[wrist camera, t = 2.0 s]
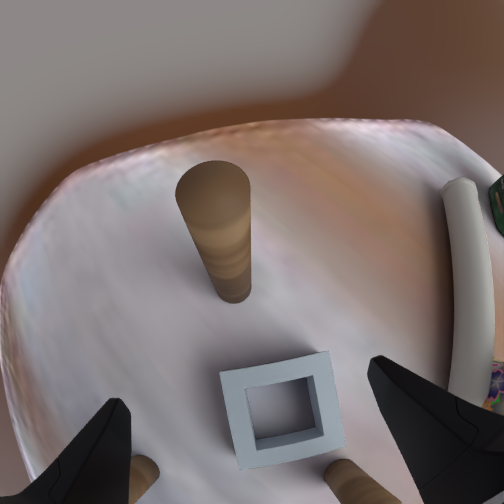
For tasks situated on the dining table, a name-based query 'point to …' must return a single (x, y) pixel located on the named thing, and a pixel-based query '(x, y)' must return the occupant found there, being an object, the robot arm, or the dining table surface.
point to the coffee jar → (498, 202)
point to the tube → (470, 293)
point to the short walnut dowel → (141, 476)
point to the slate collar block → (294, 444)
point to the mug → (496, 389)
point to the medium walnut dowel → (355, 485)
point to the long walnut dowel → (220, 224)
